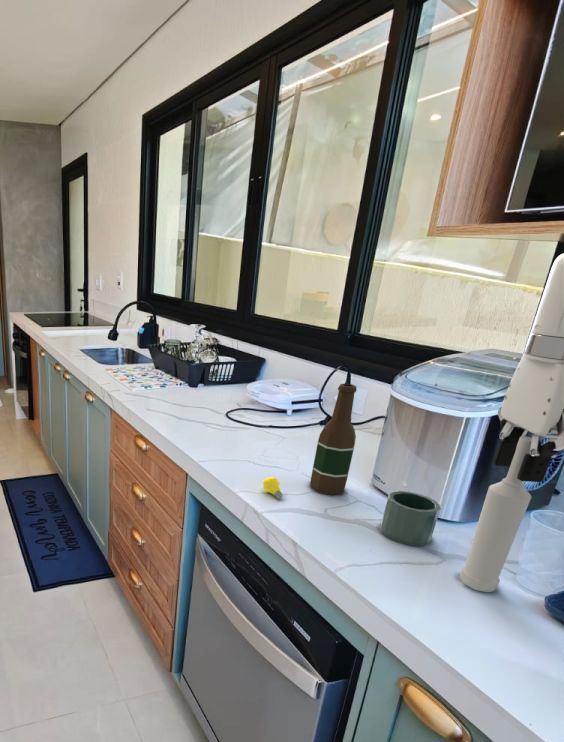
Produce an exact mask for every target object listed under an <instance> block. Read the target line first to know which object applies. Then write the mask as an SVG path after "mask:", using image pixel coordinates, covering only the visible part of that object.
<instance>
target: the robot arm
mask: <svg viewBox="0 0 564 742" xmlns="http://www.w3.org/2000/svg"><path fill="white" fill-rule="evenodd" d="M497 416H498V419H499V420H500V423H499V426H500V429H501V431H500V432H499V439H500V441H499V444H498V447H497V449H496V453H495V456H494V460H493V465H494V466H496V467H507V468H508V467H509V468H510V465H511V463H512V460H513V457H514V454H515V451H516V447H517V444H518V441H519V438H520V437H521V436H527V434H528V432H529V433H531V437H532V442H531V448H530V454H525V456H524V459H523V462H522V465H521V467H520V470H519V473H518V476H517V479H518V480H520V481H523V482H531V483H542V482H543V481H544V479H545V478H546V477H545V476H546V474H547V471H548V469H549V466H550V463H551V461H552V458H556V457H557V455H558V454H559V453H561V452H563V451H564V252H563V253H561V254H560V255H557V257H556V258H555V259H554V262H553V263H552V266H551V268H550V272H549V274H548V278H547V281H546V285H545V287H544V289H543V293H542V296H541V298H540V302H539V306H538V308H537V312H536V315H535V317H534V320H533V323H532V327H531V329H530V333H529V335H528V338H527V341H526V344H525V348H524V351H523V353H522V356H521V359H520V360H519V363H518V365H517V366H516V368H515V371H514V373H513V374H512V377H511V380H510V382H509V384H508V387H507V390H506V392H505V395H504V397H503V401H502V405H501V406H500V408H499V409H498V410H497ZM543 439H548V441H546V442H545V443H543Z"/></svg>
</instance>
